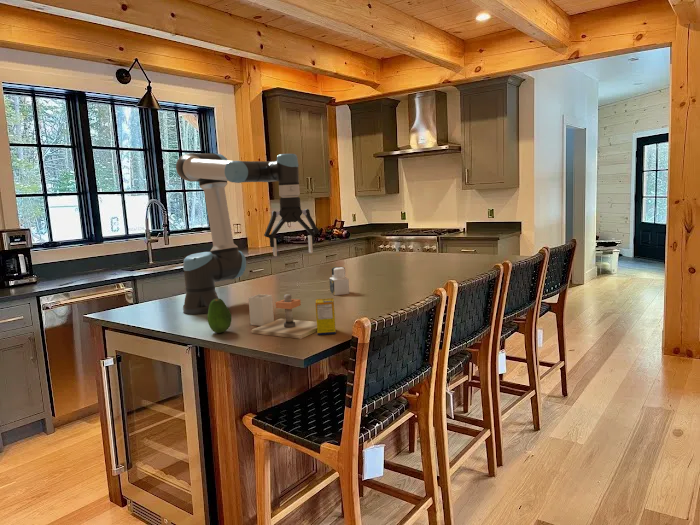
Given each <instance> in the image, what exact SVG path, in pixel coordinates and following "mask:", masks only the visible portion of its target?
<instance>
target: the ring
mask: <svg viewBox="0 0 700 525" xmlns="http://www.w3.org/2000/svg"><path fill="white" fill-rule="evenodd" d="M291 299H292V302H284V299H281V300H278V301H275V309H283V310H285V309H292V310H293V309H295V308H297V307H298V308H299V306H300V307H301V306H302V305H301V304H302V302H301V299H297V298H291Z"/></svg>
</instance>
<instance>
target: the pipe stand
mask: <svg viewBox="0 0 700 525" xmlns="http://www.w3.org/2000/svg"><path fill="white" fill-rule="evenodd" d="M283 298H284V302H292V299H293V298H292V294H289V293H288V294H283ZM284 313H285V315H284V316H285V318H278V319H276V320H275V319H274V321H272V322H270V323H267V324H265V325H262V326H258V327H255V328H253V329H251V334H256V335H265V336H274V337H282V338H293V339H299V340H300V339H303V338H306V337H307V336H310V335H311V334H314V333H317V321H312V320H311V321H309V320H301V319H300V320H299V319H294V317H293V316H294V315H293V308H292V309H284Z"/></svg>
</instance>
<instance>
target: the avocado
mask: <svg viewBox="0 0 700 525" xmlns="http://www.w3.org/2000/svg"><path fill="white" fill-rule="evenodd" d="M206 317H207V324H208V326H209V329H211V331H212V332H214V333H216V334H221V333H225V332H226V331H228V330H229V328H230V327H231V324H232V313H231V312H230V309H229V308H228V307H227V304H226V303H225V302H224V301H223V299H221V298H219V297H218V298H216V299H213V300H212V301H211V303H210V305H209V310H208V313H207V316H206Z"/></svg>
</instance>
